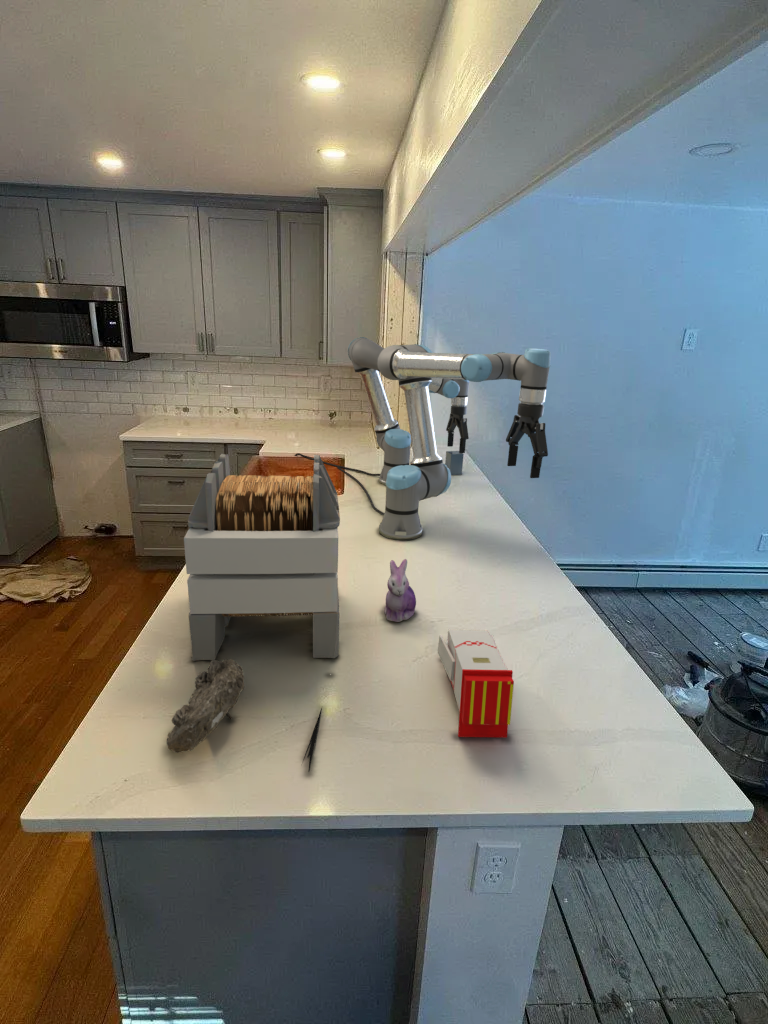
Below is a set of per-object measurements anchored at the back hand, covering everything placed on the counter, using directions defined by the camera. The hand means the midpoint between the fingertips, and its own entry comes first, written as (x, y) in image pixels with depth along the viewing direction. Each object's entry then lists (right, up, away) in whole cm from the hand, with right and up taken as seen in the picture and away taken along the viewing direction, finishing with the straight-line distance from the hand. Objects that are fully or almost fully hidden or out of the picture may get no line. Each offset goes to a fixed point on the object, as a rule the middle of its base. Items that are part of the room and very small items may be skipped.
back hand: (455, 449), depth 274 cm
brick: (-1, -11, +4) cm, 12 cm away
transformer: (-63, -58, -133) cm, 158 cm away
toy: (-17, -68, -155) cm, 170 cm away
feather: (-47, -70, -165) cm, 186 cm away
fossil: (-68, -69, -166) cm, 192 cm away
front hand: (+8, -18, -98) cm, 100 cm away
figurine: (-31, -57, -126) cm, 142 cm away
